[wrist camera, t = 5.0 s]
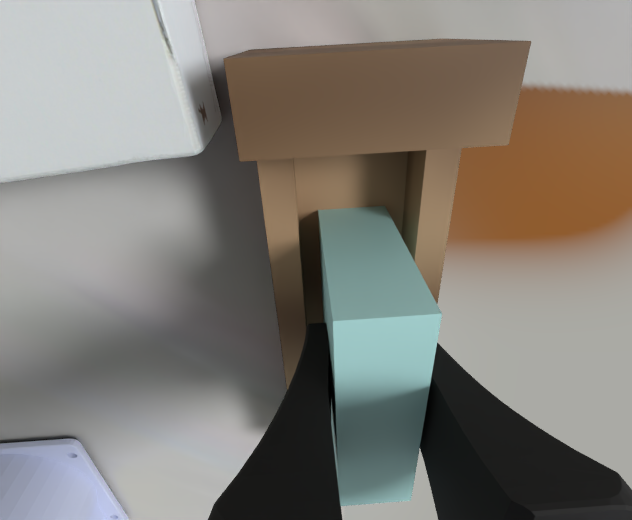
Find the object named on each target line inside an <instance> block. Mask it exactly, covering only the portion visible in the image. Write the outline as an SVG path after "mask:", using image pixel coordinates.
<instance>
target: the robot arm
mask: <svg viewBox="0 0 632 520" xmlns="http://www.w3.org/2000/svg"><path fill="white" fill-rule="evenodd" d="M420 449H421V452H422V456H423V459H424V462H425V466H426V470H427V474H428V478H429V482H430V486H431V490H432V494H433V499H434V503H435V507H436V511H437V515H438V520H632V490H631V488H630V487H629V486H628V485H627V484H626V482H625V481H624V480H623V479H622V478H621V476H620V475H619V474H618V473H617V472H615V471H613V470H611V469H609V468H607V467H606V466H604V465H602V464H600V463H598V462H597V461H594V460H593V459H591V458H589V457H587V456H585V455H583V454H581V453H580V452H578V451H576V450H574V449H573V448H571V447H569V446H567V445H566V444H564V443H563V442H561V441H559V440H557V439H556V438H554V437H553V436H551V435H549V434H548V433H546V432H545V431H543V430H542V429H540V428H538V427H537V426H535V425H534V424H533V423H531V422H529V421H528V420H527V419H525V418H524V417H522V416H521V415H519V414H518V413H516V412H515V411H513V410H512V409H511V408H509V407H508V406H507V405H505V404H504V403H503V402H501V401H500V400H499V399H498V398H496V397H495V396H494V395H492V394H491V393H490V392H489V391H488V390H487V389H485V388H484V387H483V386H482V385H480V384H479V383H478V382H477V381H476V380H475V379H474V378H473V377H472V376H471V375H470V374H468V373H467V372H466V371H465V370H464V369H463V368H462V367H461V366H460V365H459V364H458V363H457V362H456V361H455V360H454V359H453V358H452V357H451V356H450V355H449V354H448V353H447V352H446V351H445V350H444V349H443V348H442V347H441V346H440V345H439V344H438V343H437V347H436V353H435V359H434V365H433V371H432V377H431V383H430V389H429V395H428V401H427V407H426V413H425V419H424V424H423V430H422V436H421V442H420ZM0 520H129V518H128V516H127V515H126V513H125V512H124V510H123V509H122V507H121V505H120V504H119V502H118V501H117V499H116V498H115V496H114V495H113V493H112V491H111V490H110V488H109V487H108V485H107V484H106V482H105V480H104V479H103V477H102V476H101V474H100V473H99V471H98V470H97V468H96V466H95V465H94V463H93V462H92V460H91V459H90V457H89V455H88V454H87V452H86V451H85V449H84V448H83V446H82V445H81V443H80V442H79V441H78V440H76V439H55V440H42V441H29V442H15V443H2V444H0ZM208 520H342V514H341V505H340V497H339V489H338V480H337V471H336V462H335V453H334V444H333V435H332V426H331V381H330V356H329V339H328V331H327V324H326V323H312V324H309V325H307V326H306V335H305V341H304V345H303V349H302V352H301V356H300V359H299V362H298V365H297V368H296V370H295V373H294V376H293V378H292V380H291V383H290V385H289V388H288V390H287V392H286V395H285V397H284V399H283V401H282V403H281V405H280V407H279V409H278V411H277V413H276V415H275V417H274V418H273V420H272V422H271V424H270V425H269V427H268V429H267V431H266V432H265V434H264V436H263V437H262V439H261V441H260V442H259V444H258V445H257V447H256V448H255V450H254V451H253V453H252V454H251V456H250V457H249V459H248V460H247V462H246V463H245V464H244V466H243V467H242V469H241V470H240V472H239V473H238V474H237V476H236V477H235V478H234V479H233V481H232V482H231V483H230V485H229V486H228V487H227V488H226V490H225V491H224V492H223V493H222V495H221V496H220V497H219V498H218V500H217V501H216V502H215V504H214V506H213V508H212V511H211V513H210V516H209V518H208Z"/></svg>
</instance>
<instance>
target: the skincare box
mask: <svg viewBox="0 0 632 520" xmlns="http://www.w3.org/2000/svg"><path fill="white" fill-rule="evenodd" d="M221 121H222V117H221V113H220V108H219V104H218V100H217V96H216V91H215V87H214V82H213V78H212V73H211V69H210V64H209V60H208V56H207V52H206V47H205V43H204V39H203V34H202V30H201V26H200V22H199V17H198V13H197V9H196V5H195V0H0V183H7V182H13V181H21V180H28V179H35V178H41V177H48V176H55V175H62V174H69V173H75V172H82V171H88V170H94V169H101V168H108V167H113V166H119V165H124V164H129V163H136V162H142V161H150V160H160V159H169V158H178V157H188V156H194V155H198V154H199V153H201V152H202V151H203V150H204V149H205V148H206V146H207V145H208V144H209V142H210V141H211V139H212V137H213V136H214V134H215V132H216V131H217V129H218V128H219V126H220V123H221Z"/></svg>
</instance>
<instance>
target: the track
mask: <svg viewBox="0 0 632 520" xmlns="http://www.w3.org/2000/svg"><path fill="white" fill-rule="evenodd" d="M530 45H531V41H508V40H471V39H430V40H412V41H395V42H377V43H360V44H342V45H325V46H307V47H289V48H272V49H254V50H248V51H245V52H242V53H239V54H236V55H233V56H230V57H227V58H224V65H225V72H226V78H227V84H228V91H229V97H230V104H231V110H232V116H233V123H234V129H235V135H236V142H237V148H238V154H239V161H240V162H243V161H257V167H258V175H259V183H260V190H261V198H262V205H263V213H264V220H265V228H266V235H267V243H268V250H269V258H270V265H271V273H272V280H273V288H274V295H275V303H276V311H277V318H278V326H279V333H280V341H281V348H282V356H283V363H284V371H285V378H286V386H287V390H288V388H289V385H290V383H291V380H292V378H293V376H294V373H295V370H296V368H297V365H298V362H299V359H300V356H301V352H302V349H303V345H304V341H305V335H306V326H307V325H309V324H312V323H324V322H323V301H322V281H321V260H320V240H319V219H318V210H327V209H343V208H358V207H374V206H385V207H386V209H387V211H388V212H389V214H390V216H391V218H392V220H393V222H394V224H395V226H396V228H397V229H398V231H399V233H400V235H401V237H402V239H403V241H404V243H405V245H406V246H407V248H408V250H409V252H410V254H411V256H412V258H413V260H414V262H415V263H416V265H417V267H418V269H419V271H420V273H421V275H422V277H423V279H424V280H425V282H426V284H427V286H428V288H429V290H430V292H431V294H432V296H433V298H434V299H435V301H436V303H437V302H438V296H439V290H440V283H441V277H442V270H443V264H444V258H445V251H446V245H447V239H448V232H449V226H450V219H451V213H452V206H453V200H454V194H455V187H456V181H457V174H458V168H459V160H460V155H461V149H462V148H468V147H484V146H500V145H509V140H510V135H511V130H512V126H513V122H514V117H515V112H516V108H517V104H518V99H519V95H520V90H521V86H522V81H523V76H524V72H525V67H526V63H527V58H528V54H529V49H530Z"/></svg>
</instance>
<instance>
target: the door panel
mask: <svg viewBox="0 0 632 520" xmlns="http://www.w3.org/2000/svg"><path fill="white" fill-rule="evenodd" d="M318 219H319V240H320V260H321V281H322V301H323V322H324V323H326V324H327V331H328V339H329V356H330V381H331V426H332V435H333V444H334V453H335V462H336V471H337V480H338V489H339V497H340V505H341V506H348V505H361V504H373V503H385V502H399V501H410V500H411V496H412V490H413V484H414V478H415V472H416V466H417V460H418V454H419V448H420V442H421V436H422V430H423V424H424V419H425V413H426V407H427V401H428V395H429V389H430V383H431V377H432V371H433V365H434V359H435V353H436V347H437V341H438V334H439V329H440V323H441V316H442V313H441V311H440V309H439V307H438V305H437V303H436V301H435V299H434V298H433V296H432V294H431V292H430V290H429V288H428V286H427V284H426V282H425V280H424V279H423V277H422V275H421V273H420V271H419V269H418V267H417V265H416V263H415V262H414V260H413V258H412V256H411V254H410V252H409V250H408V248H407V246H406V245H405V243H404V241H403V239H402V237H401V235H400V233H399V231H398V229H397V228H396V226H395V224H394V222H393V220H392V218H391V216H390V214H389V212H388V211H387V209H386V207H385V206H374V207H358V208H343V209H327V210H318Z"/></svg>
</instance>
